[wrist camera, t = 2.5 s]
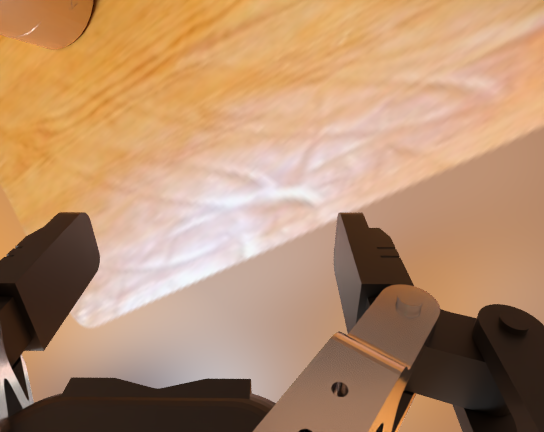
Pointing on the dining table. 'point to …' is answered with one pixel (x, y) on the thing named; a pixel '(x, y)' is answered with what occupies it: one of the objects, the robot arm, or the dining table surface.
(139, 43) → the dining table surface
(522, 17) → the dining table surface
